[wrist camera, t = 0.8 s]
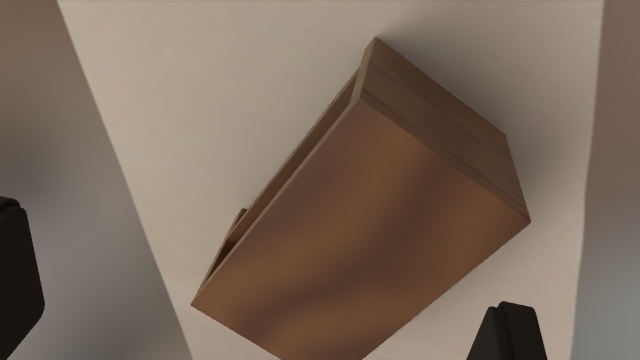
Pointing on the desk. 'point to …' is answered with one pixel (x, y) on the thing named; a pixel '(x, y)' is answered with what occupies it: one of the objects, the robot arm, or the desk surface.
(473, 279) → the desk surface
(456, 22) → the desk surface
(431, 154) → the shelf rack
